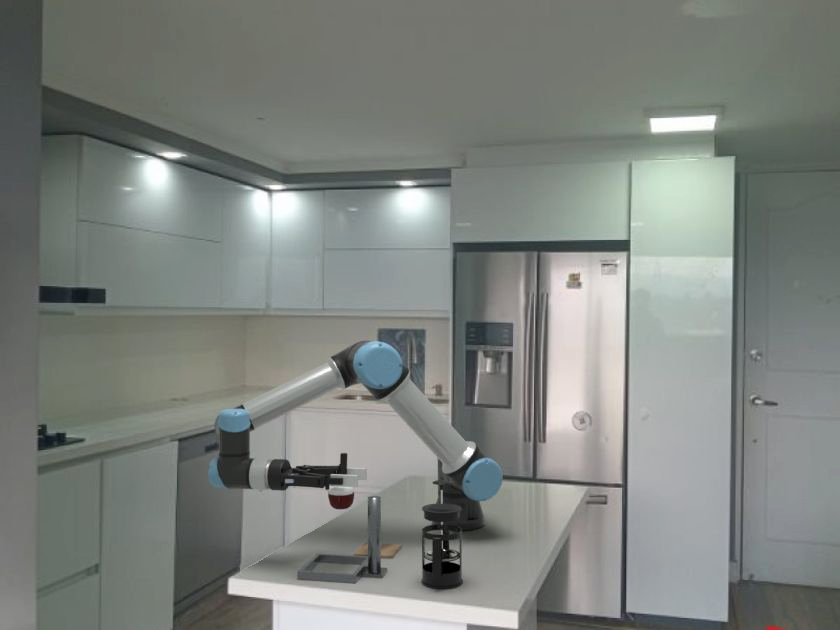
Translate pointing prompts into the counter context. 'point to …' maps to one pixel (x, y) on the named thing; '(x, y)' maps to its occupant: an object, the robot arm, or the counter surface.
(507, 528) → the counter surface
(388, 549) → the walnut coaster
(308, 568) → the ring stand
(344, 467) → the cocoa
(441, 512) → the french press
